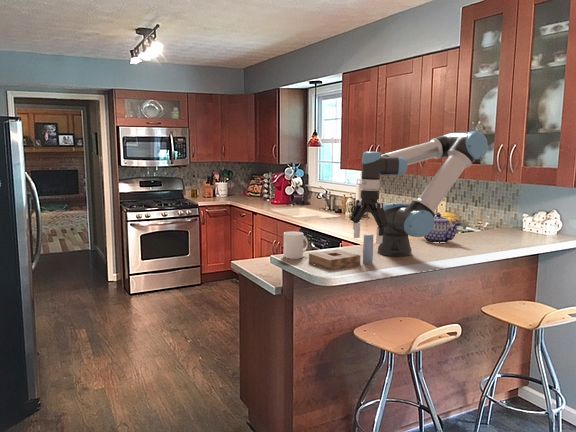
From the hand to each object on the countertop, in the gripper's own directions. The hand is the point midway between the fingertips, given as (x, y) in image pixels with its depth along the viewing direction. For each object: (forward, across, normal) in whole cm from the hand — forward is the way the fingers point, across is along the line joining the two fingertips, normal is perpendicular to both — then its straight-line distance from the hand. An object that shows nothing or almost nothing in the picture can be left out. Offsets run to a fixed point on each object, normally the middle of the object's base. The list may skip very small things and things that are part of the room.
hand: (367, 240), depth 204 cm
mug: (+10, -25, -18) cm, 33 cm away
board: (+10, -6, -12) cm, 17 cm away
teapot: (+9, -16, +64) cm, 66 cm away
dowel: (+10, 0, 0) cm, 10 cm away
